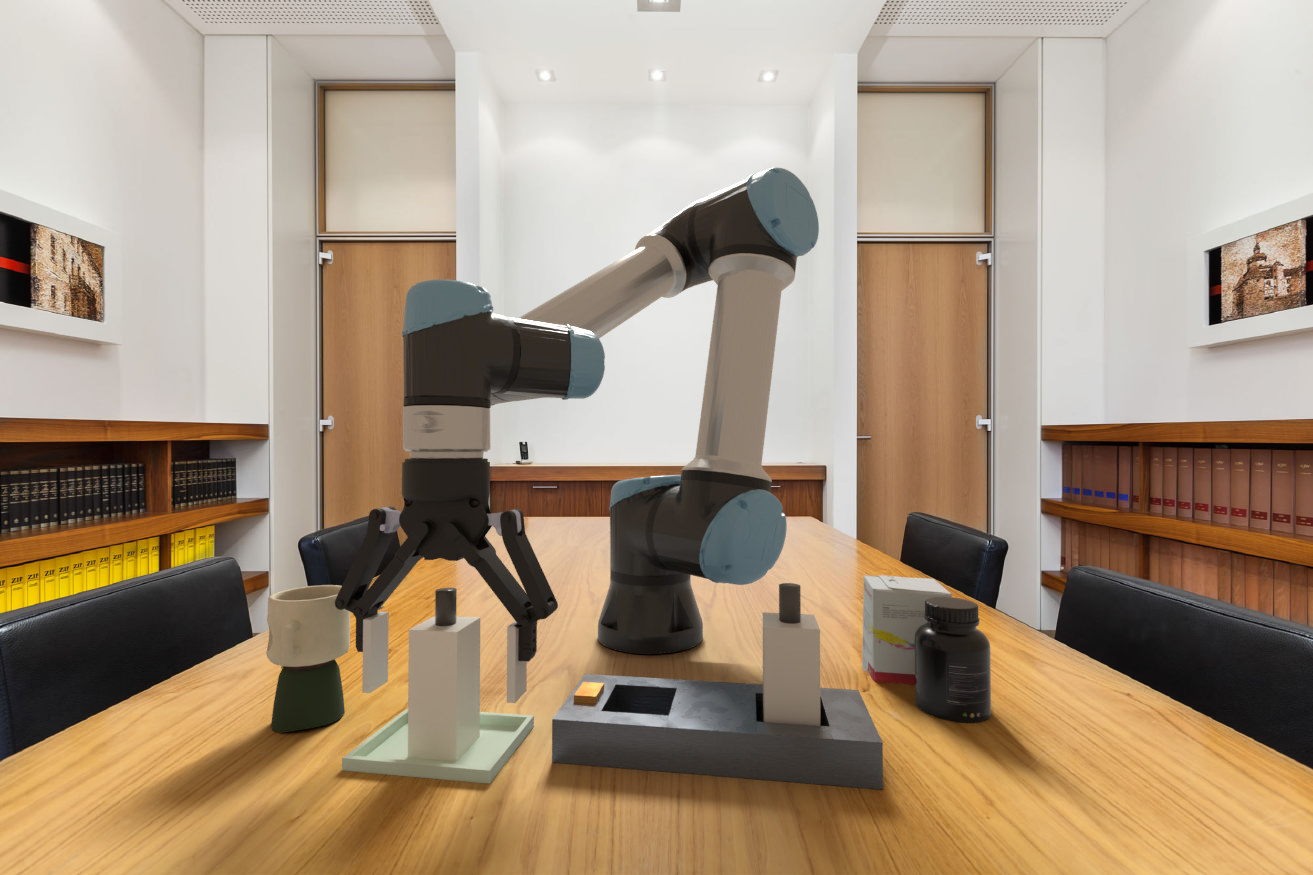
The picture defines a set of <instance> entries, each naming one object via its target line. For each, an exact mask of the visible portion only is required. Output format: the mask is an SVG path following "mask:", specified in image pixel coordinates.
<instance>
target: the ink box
mask: <svg viewBox="0 0 1313 875" xmlns="http://www.w3.org/2000/svg"><path fill="white" fill-rule="evenodd" d="M862 579H863V584H862V585H863V587H862V588H863V590H862V591H863V592H862V593H863V594H862V595H863V596H862V598H863V599H862V651H861V652H862V654H861V656H862V657H861V658H862V659H861V661H862V662H861V664H862V665H861V668H862V670H863V672H868V673H869V676H870V678H871V680H872V681H874V682H877V683H890V684H903V685H905V684H906V685H915V645H914V639H915V632H916V631H917V629H918V628H919V627H920V626H921V625H923V624H925V623H927V620H926V619H925V618H924V613H925V600H926V599H927V598H931V597H953V596H952V593H951V592H950V591H948V590H947V588H945V587H944V586H943V585H942V584H941V583H939V582H938V581H937V580H936V579H935V578H928V577H927V578H925V577H906V576H905V577H904V576H897V575H896V576H894V575H886V574H885V575H883V574H881V575H880V574H879V575H871V574H869V575H867V574H864V575H863V578H862Z"/></svg>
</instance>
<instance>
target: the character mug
mask: <svg viewBox="0 0 1313 875" xmlns="http://www.w3.org/2000/svg"><path fill="white" fill-rule="evenodd" d="M341 587H342V585H339V584H338V585H337V584H335V585H334V584H321V585H308V586H302V587H293V588H290V589H285V590H281V591H278V592H274V593H272V594H270V595H269V596H268V598H267V616H266V621H267V625H268V630H269V632H268V634H269V635H268V643H267V647H266V648H267V649H266V657H267V659H268V660H269V662H271V663H272V664H274V665H276V666H280V669H281V671H280V673H278V674H279V675H278V677H277V684H276V687H275V688H276V689H275V694H274V700H273V704H272V705H273V706H272V707H273V708H272V715H271V723H270V724H271V729H272V731H275V732H276V733H280V734H281V733H282V734H283V733H287V732H294V731H299V730H301V731H302V730H307V729H308V730H309V729H313V728H317V727H322V726H323V727H324V726H326V725H330V724H331V723H335V722H337V721H339V720H340V719H341V718H342V717H343V716H344V715H345V712H346V711H345V699H344V691H343V685H342V684H343V683H342V676H341V670H340V666H339V664H338V662H337V661H336V659H339V658H341V657H342V656H345V655H346V654H347V653H348V651H349V649H350V643H351V612H350V611H348V610H345V609H343V610H339V609H337V608H336V606H335V600H336V598H337V595H338V593H339V591H340V589H341Z"/></svg>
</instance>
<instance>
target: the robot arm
mask: <svg viewBox="0 0 1313 875" xmlns="http://www.w3.org/2000/svg"><path fill="white" fill-rule="evenodd" d="M819 225H820V224H819V216H818V213H817V209H816V206H815V202H814V200H813V198H812V196H811V195H810V192H809V190H808V188H807V187H806V185H805V184H804V183H803V182H802V180H801V179H800V178H799V177H798V176H797V175H796V174H795V173H793V172H792V171H790V170H788V169H786V168H783V167H772V168H768V169H765V170H763V171H760V172H754V173H752V174H750V175H748V177H747V178H746V179H743V180H742V181H738V182H737V183H735V184H732V185H730V186H728V187H725V188H723V189H721V190H718V191H716V192H713V193H711V194H709V195H708V196H705V197H702V198H699V199H698V200H696V201H694V202H692V203H690V204H689V205H688V206H686V207H685V208H683V209H682V210H680V211H679V212H678V213H676V214H675V215H674V216H673V217H671V218H670V219H668V220H667V221H665V222H664V223H663V224H662V225H659V226H658V227H657V228H655V229H654V230H652V231H651V232H649V233H647V234H645V235H644V236H643V237H641V238H640V239H639V240H638V241H637V243H636V245H635V248H634V250H633V251H631V252H629V253H628V254H626V255H624V256H622V257H621V258H619V259H617V260H615V261H614V262H612V263H611V264H609V265H607V266H606V267H604V268H602V269H600V270H598V271H597V272H595V273H593V274H591V275H590V276H588V277H587V278H585V279H583V280H581V281H580V282H578V283H576V284H575V285H573V286H571V287H569V288H568V289H566V290H564V291H563V292H561V293H559V294H558V295H555V296H554V297H552V298H551V299H549V300H547V301H545V302H544V303H542V304H540V305H538V306H537V307H534V308H533V309H532V310H530V311H528V312H526V313H525V314H523V315H521V316H520V317H517V318H516V317H511V316H505V315H503V314H499V313H495V312H494V306H493V304H492V303H493V302H492V296H491V294H490V292H489V291H488V290H487V289H486V288H485V287H482V286H479V285H475V284H474V283H472V282H468V281H464V280H463V281H462V280H455V279H440V278H439V279H428V280H422V281H419V282H416V284H413V285H412V286H411V287H410V288H409V289H408V290H407V292H406V296H405V304H404V313H403V328H402V331H401V338H402V343H403V344H402V348H403V349H402V351H403V353H402V356H403V358H402V359H403V362H402V363H403V366H402V367H403V406H402V449H403V450H404V451H405V452H408V453H409V458H404V461H402V462H401V496H402V498H403V502H404V503H403V504H404V505H403V508H402V510H399V509H398V510H397V509H396V508H395V507H394V506H385V507H380V508H373V509H372V510H370V512H369V513H368V522H367V528H366V533H365V537H364V539H363V541H362V543H361V545H360V546H359V549H358V552H357V554H356V555H355V557H354V560H353V562H352V564H351V565H350V568H349V570H348V572H347V575H346V577H345V579H344V581H343V582H342V585H341V586H342V587H341V589H340V591H339V593H338V595H337V598H336V600H335V606H336V608H337V609H339V610H343V609H345V610H348V611H350V613H351V614H352V615H353V616H354V617H355V648H356V651H357V652H358V653H362V674H361V675H362V676H361V677H362V680H361V681H362V684H361V688H362V689H361V691H362V693H365V694H371V693H372V692H374V691H375V690H377V689H379V688H380V687H382V686H383V685H385V684H386V683H388V681H389V629H390V628H389V626H390V625H389V624H390V623H389V618H390V616H389V613H390V612H389V611H380V610H382V609H383V608H385V606H383V605H384V604H385V603H386V602H387V600H388V599H389V598H390V597H391V596H392V594H393V593H394V592H395V590H397V588H398V587H399V586H400V584H401V583H402V582H403V581H404V580H405V579H406V578H407V576H408V575H409V573H410V572H411V571H412V570H413V569H414V568H415V566H416V565H417V564H418V562H419V561H421V559H424V560H425V561H434V560H438V559H443V560H446V561H450V562H455V561H456V562H457V561H458V562H459V561H460V560H463V559H464V560H465V561H466V562H467V564H468V565H470V567H473V568H474V569H475V570H476V571H477V572H478V574H479V576H481V578H482V579H483V580H484V582H485V583H486V585H487V586H488V587H489V588H490V590H492V592H493V594H494V595H495V597H497V599H498V601H500V602H501V604H502V605H503V606H504V608H505V610H507V612H508V613H509V614H510V616H511V617H512V618H513V620H514V621H513V622H511V623H510V624H509V625H507V629H506V631H507V632H506V634H507V636H506V640H507V641H506V645H507V646H506V703H507V704H516V703H517V702H518V700H520V698H522V696H523V695H525V693H526V692H527V685H528V684H527V683H528V682H527V681H528V680H527V679H528V678H527V675H528V674H527V671H528V670H527V666H528V665H527V663H528V662H530V661H531V660H532V659H533V658H534V657H535V656H536V653H537V651H538V650H537V649H538V648H537V646H538V645H537V642H538V641H537V640H538V637H537V636H538V633H537V632H538V629H537V628H538V621H540V620H546V619H547V618H549V617H550V616H551V615H552V614H553V613H555V611H557V610H558V606H559V604H558V601H557V599H556V596H555V595H554V592H553V589H552V588H551V586H550V583H549V581H548V579H547V577H546V575H545V573H544V571H543V568H542V566H541V564H540V562H539V559H538V558H537V555H536V553H535V551H534V549H533V547H532V544H531V543H530V540H529V538H528V536H527V533H526V530H525V529H526V528H525V518H524V513H523V510H522V509H520V508H513V509H510V510H506V511H502V512H494V513H493V512H492V511H491V508H490V504H489V500H490V494H491V491H490V490H491V486H490V485H491V484H490V483H491V480H490V479H491V462H490V461H489V460H488V458H484V453H487V452H488V451H490V450H491V407H492V406H495V405H498V404H504V403H510V402H520V401H521V402H522V401H527V400H528V401H529V400H536V399H543V398H545V399H546V398H549V399H550V398H551V399H552V398H554V399H561V400H563V401H564V400H565V401H567V400H568V399H569V400H571V399H573V400H574V399H575V400H576V399H581V400H583V399H587V398H589V397H591V396H592V395H594V394H595V393H596V392H597V390H598V389H599V388H600V386H601V384H602V381H603V378H604V376H605V375H604V374H605V369H606V368H605V367H606V365H605V359H606V354H605V351H604V346H603V344H602V341H601V340H600V338H602V337H604V336H605V335H607V334H608V333H610V332H611V331H612V330H614V329H616V328H617V327H618V326H621V325H622V324H623V323H624V322H626V321H628V320H629V319H630V318H632V317H634V316H635V315H637V314H638V313H640V312H641V311H642V310H643V311H644V309H646V308H647V307H649V306H650V305H651V304H653V303H654V302H656V301H658V300H660V298H666V299H667V298H668V299H669V298H670V299H671V298H675V297H676V296H678V295H679V294H681V293H682V292H684V291H686V290H688V289H689V288H693V287H695V286H699V285H702V284H705V283H707V282H711V281H714V282H715V284H716V286H717V288H716V295H715V303H714V304H715V305H714V310H713V311H714V312H713V318H712V319H713V320H712V327H711V333H710V342H709V350H708V357H707V365H706V372H705V380H704V388H703V395H702V402H701V411H700V419H699V427H698V431H697V432H698V434H697V442H696V448H695V454H694V455H695V456H694V457H693V459H692V460H691V461H689V463H687V464H686V465H684V466H683V467H682V468H681V474H672V475H669V474H668V475H656V476H655V475H654V476H653V475H652V476H646V477H635V478H628V479H623V480H622V479H621V480H619V481H617V482H616V483H614V484H613V486H612V487H611V490H610V500H609V507H608V510H609V529H610V530H609V535H610V536H609V544H610V545H609V552H610V554H609V557H610V558H609V560H610V561H609V564H610V565H609V570H610V572H609V573H610V577H609V578H610V579H609V580H610V581H609V588H608V590H607V593H606V595H605V596H606V597H605V598H604V604H603V606H602V608H601V612H600V616H599V619H598V622H597V640H598V642H599V643H600V644H601V645H603V646H604V647H606V648H609V649H612V650H615V651H617V652H618V651H619V652H623V653H624V652H625V653H629V654H643V655H658V654H659V655H660V654H669V653H675V652H676V653H677V652H681V651H685V650H688V649H691V648H695V647H696V646H697V645H699V644H700V643H701V642H702V641H703V638H704V634H703V633H704V623H703V619H702V616H701V613H700V610H699V606H698V602H697V600H696V597H695V596H696V595H695V594H694V590H693V587H692V584H691V582H692V580H691V576H694V577H698V578H703V579H707V580H710V581H711V582H713V583H715V584H731V585H737V586H739V585H740V586H744V585H745V586H746V585H749V584H752V583H755V582H757V581H759V580H761V579H762V578H763V577H765V576H766V574H767V573H768V571H770V570H771V569H772V568H773V567H774V566H775V564H776V562H777V561H778V560H779V558H780V556H781V554H782V551H783V548H784V546H785V541H786V538H787V526H788V525H787V517H786V514H785V513H784V512H783V510H784V507H783V504H782V502H781V501H780V500H779V499H778V497H776V496H775V495H774V494H773V493H771V492H772V482H773V480H772V478H771V477H770V476H769V475H768V473H767V472H766V471H765V469H764V468H763V465H762V462H763V454H764V447H765V446H764V445H765V437H766V431H767V430H766V428H767V420H768V413H769V411H768V410H769V404H770V402H769V401H770V394H771V384H772V379H773V378H772V377H773V368H774V360H775V351H776V341H777V332H778V324H779V315H780V308H781V299H782V292H783V291H784V290H785V289H786V288H787V287H789V286H790V285H791V284H792V283H793V282H794V281H795V278H796V277H795V276H796V268H797V261H798V257H802V256H805V255H806V254H808V253H809V252H811V250H812V249H814V247H816V244H817V242H818V238H819V234H820V233H819V232H820V230H819V229H820V228H819ZM492 527H493V528H494V529H495V532H496V534H497V535H498V536H500V537H501V538H502V542H503V545H504V547H505V549H506V551H507V552H506V553H507V554H508V556H509V558H510V561H511V563H512V565H513V567H514V570H515V571H516V574H517V576H518V578H519V580H520V582H521V584H520V583H519V582H518V581H517V580H516V578H515V576H513V574H512V573H511V572H510V570H509V569H508V568H507V567H506V565H505V564H504V562H502V560H501V558H500V557H499V556H498V555H497V550H496V548H495V547H494V545H492V543H491V542H490V541H489V540H488V538H487V537H486V536H487V534H488V533H489V531H490V530H491V528H492ZM399 528H401V529H402V531H403V532H404V533H405V535H406V537H407V538H406V539H405V540H404V541H403V543H402V544H401V545H400V546H399V548H398V549H397V550H396V551H395V553H394V557H393V558H392V559H391V561H390V562H389V563H388V564H387V566H386V567H385V568H384V569H383V570H382V571H381V573H380V574H379V575H378V576H377V577H376V579H375V580H374V582H373V579H374V577H375V576H376V573H377V571H378V569H379V567H380V565H381V562H382V561H383V559H384V556H385V554H386V552H387V550H388V549H389V546H390V544H391V542H392V539H393V537H394V534H395V532H397V531H398V530H399ZM521 585H522V586H521Z"/></svg>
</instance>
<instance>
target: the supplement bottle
mask: <svg viewBox="0 0 1313 875" xmlns="http://www.w3.org/2000/svg"><path fill="white" fill-rule="evenodd" d="M924 618H925V619H926V620H927V623H925V624H923V625H921V626H920V627H919V628H918V629H917V631H916V632H915V639H914V645H915V684H914V704H915V706H916V707H917V708H918V710H920V711H921V712H923V713H925V714H927V715H928V716H931V717H934V718H935V719H939V720H944V721H947V722H952V723H958V724H979V723H985V722H987V721H989V719H990V718H991V717H992V697H991V696H992V692H991V691H992V690H991V689H992V685H991V684H992V683H991V679H992V678H991V677H992V676H991V675H992V674H991V669H992V668H991V667H992V666H991V642H990V641H989V639H988V637H987V636H986V634H984V633H983V631H981V630H980V629H978V628H977V627H978V626H979V625H980V622H981V620H980V617H979V605H978V604H977V603H976V602H974V601H971V600H968V599H964V598H960V597H953V596H952V597H931V598H927V599H926V600H925V613H924Z"/></svg>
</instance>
